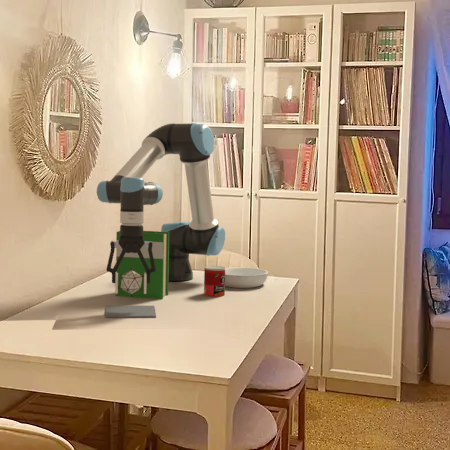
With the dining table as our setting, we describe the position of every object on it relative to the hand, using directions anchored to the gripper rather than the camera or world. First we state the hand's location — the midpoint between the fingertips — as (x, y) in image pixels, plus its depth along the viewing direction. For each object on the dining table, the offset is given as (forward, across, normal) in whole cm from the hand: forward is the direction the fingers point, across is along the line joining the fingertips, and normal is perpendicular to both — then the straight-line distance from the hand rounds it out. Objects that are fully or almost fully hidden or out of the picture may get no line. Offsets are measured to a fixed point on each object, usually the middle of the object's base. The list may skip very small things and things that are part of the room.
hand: (130, 292), depth 233 cm
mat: (+6, 0, 0) cm, 6 cm away
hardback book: (+7, +4, +27) cm, 28 cm away
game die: (+2, 0, 0) cm, 2 cm away
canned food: (+7, +31, +27) cm, 42 cm away
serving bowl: (+7, +44, +45) cm, 63 cm away
